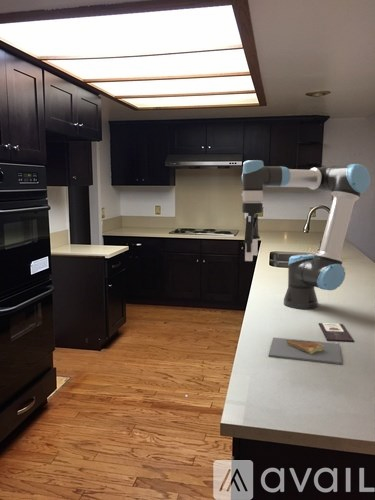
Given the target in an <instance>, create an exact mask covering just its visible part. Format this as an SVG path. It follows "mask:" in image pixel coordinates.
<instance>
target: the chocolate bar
mask: <svg viewBox="0 0 375 500" xmlns="http://www.w3.org/2000/svg"><path fill="white" fill-rule="evenodd" d="M318 326H319V328H320V330H321V332H322V334H323V336H324V337H325V340H326V341H327V342H341V343H342V342H343V343H344V342H345V343H355V340H354V338H353V337H352V335H351V334H350V333H349V331H348V329H347V328H346V327H345V325H344V324H343V323H326V322H318Z"/></svg>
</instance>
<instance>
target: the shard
mask: <svg viewBox="0 0 375 500" xmlns="http://www.w3.org/2000/svg"><path fill="white" fill-rule="evenodd" d="M295 340H296V339H295ZM295 340H286V342H287V344H289V345H291V346H294V347H296V348H298V349H301V350H303V351H305V352H307V353H309V354H313V353H314V352H317V351H322V349H323V348H324V346H323V345H321V344H318V343H317V342H318V341H316V342H310V341H311V340H306V341H295Z"/></svg>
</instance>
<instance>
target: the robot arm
mask: <svg viewBox="0 0 375 500" xmlns="http://www.w3.org/2000/svg"><path fill="white" fill-rule="evenodd" d="M242 165H243V166H242V174H241V182H242V193H241V195H240V196H241V197H242V202H243V203H242V204H241V205H242V207H241V210H242V211H241V212H242V213H243V214H247V215H246V217H245V231H244V240H243V242H242V243H243V244H244V246H245V247H244V248H245V249H244V262H253V258H254V256H258V255H259V253H258V242H259V239H260V238H261V237H260V234H259V223H258V222H259V218H258V217H259V215H258V214H261V213H263V203H262V202H263V201H264V191H263V190H264V188H266V187H267V188H268V187H271V188H272V187H273V188H275V187H276V188H279V187H280V188H308V189H310V190H314V191H315V190H316V191H323V192H324V191H325V192H330V194H331V196H332V202H331V206H330V208H329V213H328V217H327V222H326V225H325V229H324V232H323V237H322V239H321V244H320V248H319V251H318V252H316V253H315V254H297V255H291V256H290V257H289V258H288V264H287V265H288V269H287V270H288V273H287V274H288V275H287V278H288V279H287V280H288V282H287V289H286V292H285V294H284V298H283V305H284V306H286V307H289V308H293V309H301V310H306V309H307V310H308V309H310V310H311V309H315V308H317V307H318V306H319V305H318V304H319V300H318V297H317V294H316V290H315V288H318V289H321V290H323V291H324V290H325V291H335V290H336V289H338V288H339V287H341V286H342V285H343V283H344V281H345V278H346V271H345V267H344V266H343V259H342V258H341V255H342V250H343V247H344V243H345V239H346V235H347V231H348V227H349V224H350V220H351V217H352V212H353V208H354V204H355V202H356V201H358V200H359V199H360V197H361V193H364V192H366V191H367V190H368V189H369V187H370V185H371V175H370V173H369V170H368V169H367V167H366V166H364V165H363V164H361V163H360V164H359V163H350V164H338V165H334V164H333V165H328V166H323V167H311V168H310V169H297V168H295V169H292V168H288V167H286V166H281V165H279V166H275V165H274V166H272V165H271V166H265V165H264V161H263V160H260V159H259V160H258V159H256V160H255V159H253V160H245V161H244V162H243V164H242Z"/></svg>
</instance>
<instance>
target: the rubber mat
mask: <svg viewBox="0 0 375 500" xmlns="http://www.w3.org/2000/svg"><path fill="white" fill-rule="evenodd" d="M286 340H295V341H307V340H303V339H294V338H285V337H272V340H271V344H270V348H269V350H268V357H269V358H270V357H272V358H279V359H281V358H282V359H287V360H289V359H290V360H299V361H307V362H317V363H325V364H334V365H342V364H343V360H342V356H341V349H340V343H336V342H335V343H334V342H325V341H313V340H309V341H310V342H317V343H318V344H321V345H323V346H324V348H323V349H322V351H317V352H314V353H313V354H309V353H307V352H305V351H303V350H301V349H298V348H296V347H294V346H291V345H289V344H287V342H286Z"/></svg>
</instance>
